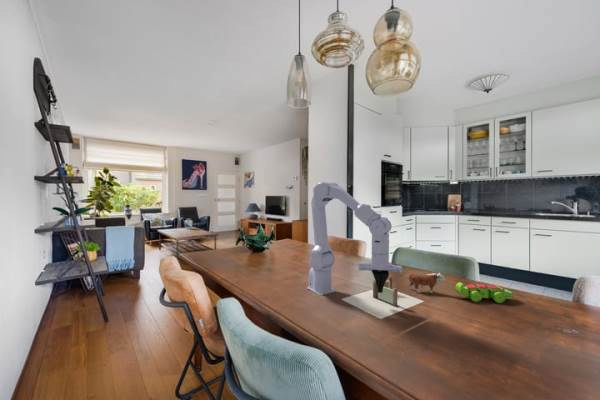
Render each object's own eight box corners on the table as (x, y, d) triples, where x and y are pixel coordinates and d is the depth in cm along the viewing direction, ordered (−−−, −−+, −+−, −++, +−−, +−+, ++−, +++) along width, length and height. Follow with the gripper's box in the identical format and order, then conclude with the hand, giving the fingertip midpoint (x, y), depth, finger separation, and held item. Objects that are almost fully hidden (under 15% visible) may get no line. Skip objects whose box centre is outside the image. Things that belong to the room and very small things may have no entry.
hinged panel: (377, 298, 93) (377, 283, 93) (380, 297, 94) (380, 282, 94) (395, 305, 87) (395, 289, 87) (398, 304, 88) (398, 288, 88)
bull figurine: (446, 295, 98) (447, 274, 97) (409, 293, 100) (410, 272, 100) (442, 291, 102) (443, 271, 102) (407, 289, 105) (407, 269, 104)
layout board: (340, 300, 93) (341, 299, 93) (383, 287, 106) (383, 286, 106) (380, 320, 78) (380, 318, 78) (424, 302, 91) (424, 301, 91)
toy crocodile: (505, 297, 97) (505, 281, 97) (518, 304, 90) (518, 287, 90) (451, 294, 99) (451, 279, 99) (459, 301, 93) (460, 285, 92)
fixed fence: (376, 298, 93) (376, 282, 93) (371, 297, 95) (371, 281, 95) (393, 293, 99) (393, 278, 99) (389, 291, 101) (389, 276, 101)
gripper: (399, 251, 90) (398, 288, 90) (357, 249, 92) (357, 286, 93) (404, 255, 83) (403, 296, 83) (359, 253, 85) (359, 293, 86)
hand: (379, 291), depth 88 cm, fingers closed
